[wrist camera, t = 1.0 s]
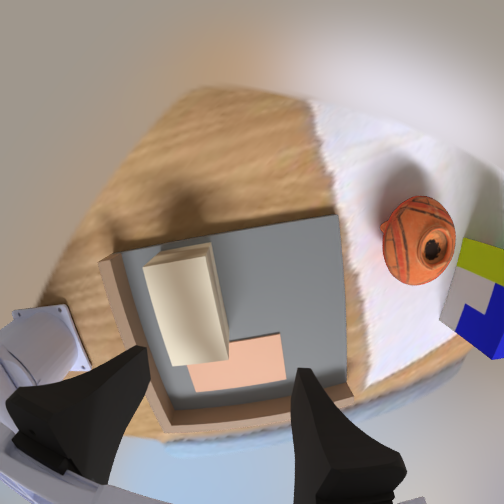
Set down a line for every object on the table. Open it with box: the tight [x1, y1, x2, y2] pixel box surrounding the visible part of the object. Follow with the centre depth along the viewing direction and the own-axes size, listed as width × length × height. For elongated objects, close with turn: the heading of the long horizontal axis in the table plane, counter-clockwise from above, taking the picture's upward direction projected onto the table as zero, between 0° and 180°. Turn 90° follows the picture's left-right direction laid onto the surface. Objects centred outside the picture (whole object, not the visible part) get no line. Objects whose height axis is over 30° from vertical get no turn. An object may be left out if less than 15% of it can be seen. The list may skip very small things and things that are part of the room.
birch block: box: [143, 242, 229, 366], centre depth 22 cm, size 4×8×5 cm, turn 9°
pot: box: [380, 196, 456, 285], centre depth 23 cm, size 8×8×7 cm
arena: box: [98, 214, 354, 433], centre depth 25 cm, size 20×19×3 cm
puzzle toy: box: [439, 238, 504, 360], centre depth 22 cm, size 10×10×10 cm
